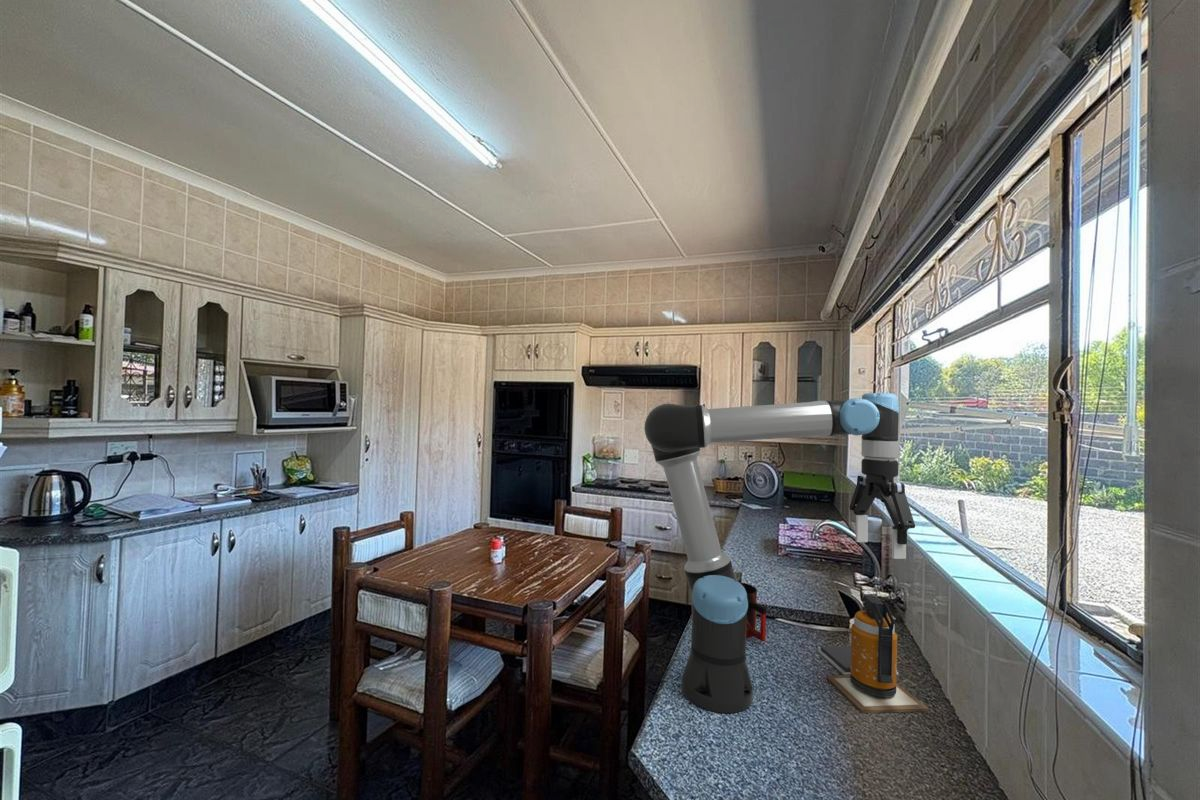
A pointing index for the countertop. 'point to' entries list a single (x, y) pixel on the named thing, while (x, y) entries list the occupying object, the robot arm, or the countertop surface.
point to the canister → (874, 649)
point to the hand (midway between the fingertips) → (879, 549)
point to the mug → (754, 614)
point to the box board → (877, 698)
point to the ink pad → (838, 657)
